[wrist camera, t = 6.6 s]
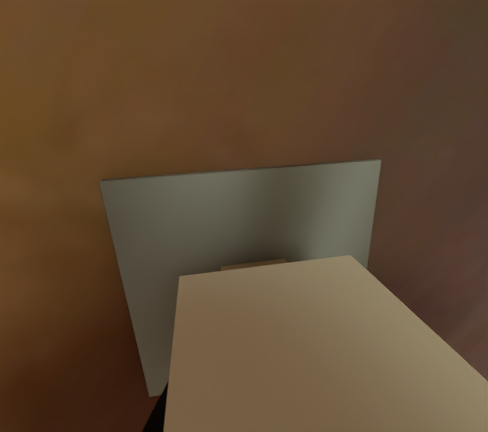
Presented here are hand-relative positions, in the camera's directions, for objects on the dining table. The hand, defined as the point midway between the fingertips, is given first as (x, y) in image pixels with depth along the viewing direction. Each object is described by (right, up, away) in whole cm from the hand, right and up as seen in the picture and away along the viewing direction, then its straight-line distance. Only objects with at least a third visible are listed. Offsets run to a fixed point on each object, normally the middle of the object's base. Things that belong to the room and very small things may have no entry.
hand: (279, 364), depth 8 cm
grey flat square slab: (-1, +1, +4) cm, 4 cm away
